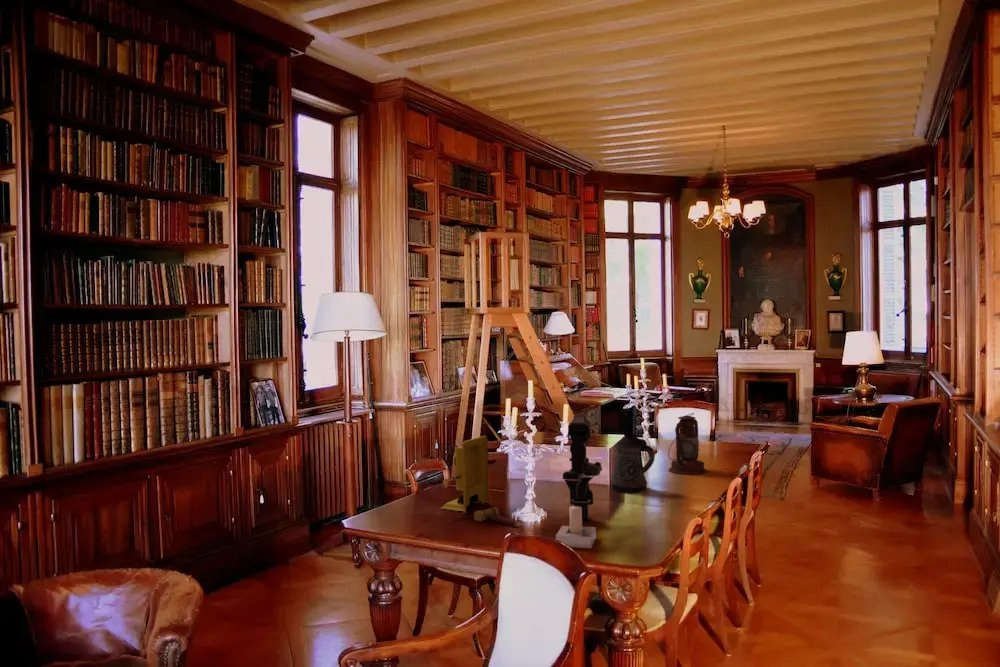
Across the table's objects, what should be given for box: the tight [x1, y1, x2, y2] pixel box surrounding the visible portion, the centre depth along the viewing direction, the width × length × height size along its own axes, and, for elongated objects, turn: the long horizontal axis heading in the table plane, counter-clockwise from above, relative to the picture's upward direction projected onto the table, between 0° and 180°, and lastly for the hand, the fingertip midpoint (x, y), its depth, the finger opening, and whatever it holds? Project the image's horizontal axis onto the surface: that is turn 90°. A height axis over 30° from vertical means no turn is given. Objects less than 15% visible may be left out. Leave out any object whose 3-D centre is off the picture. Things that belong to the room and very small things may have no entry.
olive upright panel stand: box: [440, 435, 494, 514], centre depth 336 cm, size 31×14×30 cm, turn 149°
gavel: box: [473, 506, 520, 528], centre depth 308 cm, size 21×5×10 cm
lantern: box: [667, 412, 708, 476], centre depth 397 cm, size 19×19×30 cm
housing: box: [555, 525, 597, 549], centre depth 280 cm, size 12×12×4 cm
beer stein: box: [610, 434, 656, 494], centre depth 361 cm, size 16×19×25 cm
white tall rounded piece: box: [568, 505, 583, 534], centre depth 280 cm, size 4×4×12 cm
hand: (579, 497), depth 294 cm, fingers open, 9 cm apart
